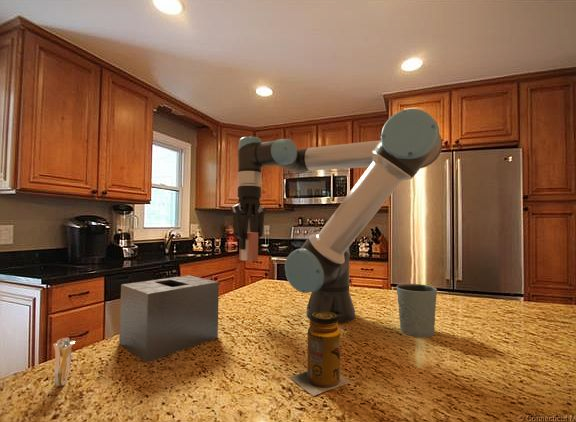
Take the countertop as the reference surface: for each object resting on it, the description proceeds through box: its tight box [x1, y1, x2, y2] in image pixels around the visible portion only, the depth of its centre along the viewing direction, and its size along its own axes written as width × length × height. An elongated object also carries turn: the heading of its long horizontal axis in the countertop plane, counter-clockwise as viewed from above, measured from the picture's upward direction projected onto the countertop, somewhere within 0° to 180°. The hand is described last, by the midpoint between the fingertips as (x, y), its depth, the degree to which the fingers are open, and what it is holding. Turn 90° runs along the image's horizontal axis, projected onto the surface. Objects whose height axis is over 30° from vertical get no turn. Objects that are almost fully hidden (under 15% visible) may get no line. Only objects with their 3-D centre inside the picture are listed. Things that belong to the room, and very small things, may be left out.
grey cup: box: [396, 283, 438, 338], centre depth 83 cm, size 10×10×12 cm
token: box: [238, 231, 259, 263], centre depth 97 cm, size 6×2×9 cm, turn 49°
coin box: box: [118, 274, 220, 363], centre depth 74 cm, size 14×18×14 cm
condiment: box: [289, 311, 350, 397], centre depth 56 cm, size 7×8×12 cm
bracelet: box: [53, 337, 76, 387], centre depth 54 cm, size 7×3×8 cm, turn 22°
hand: (248, 259), depth 97 cm, fingers closed on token, 2 cm apart
